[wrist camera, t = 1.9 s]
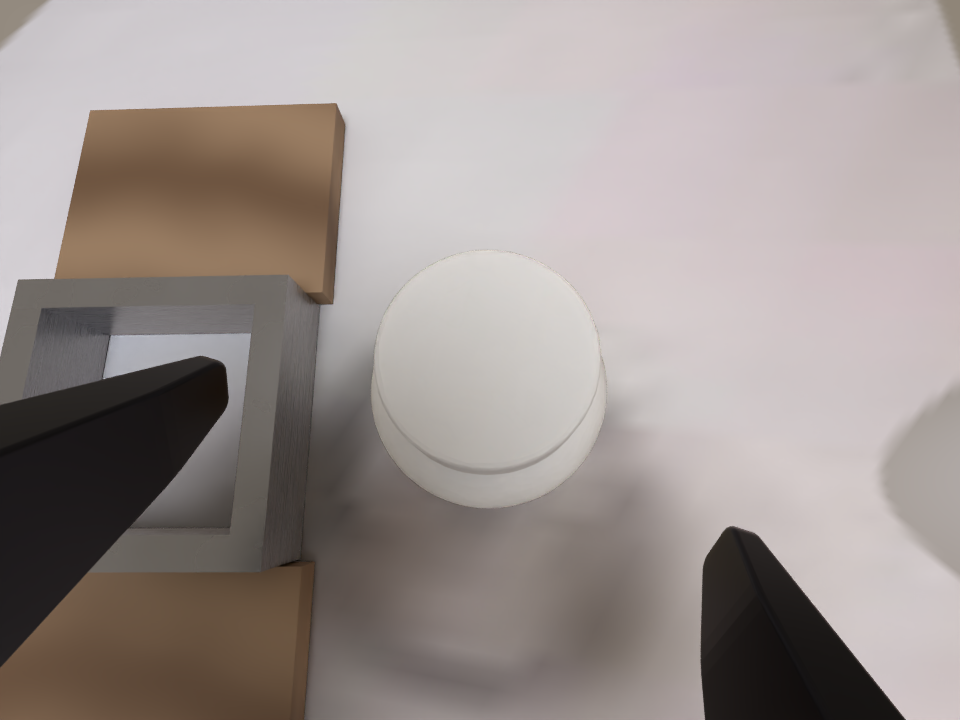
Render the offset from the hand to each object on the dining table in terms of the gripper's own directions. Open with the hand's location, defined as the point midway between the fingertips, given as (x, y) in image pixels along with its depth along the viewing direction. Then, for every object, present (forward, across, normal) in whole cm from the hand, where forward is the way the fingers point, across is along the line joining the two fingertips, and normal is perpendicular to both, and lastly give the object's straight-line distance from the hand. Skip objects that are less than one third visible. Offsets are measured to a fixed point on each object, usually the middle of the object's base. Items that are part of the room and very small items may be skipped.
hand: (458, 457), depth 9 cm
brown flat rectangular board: (+5, +11, +8) cm, 14 cm away
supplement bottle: (+8, 0, +6) cm, 10 cm away
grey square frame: (+5, +11, +8) cm, 14 cm away
